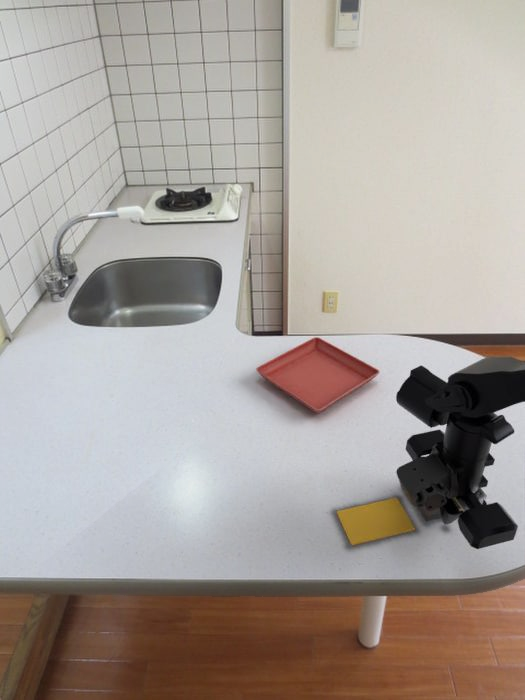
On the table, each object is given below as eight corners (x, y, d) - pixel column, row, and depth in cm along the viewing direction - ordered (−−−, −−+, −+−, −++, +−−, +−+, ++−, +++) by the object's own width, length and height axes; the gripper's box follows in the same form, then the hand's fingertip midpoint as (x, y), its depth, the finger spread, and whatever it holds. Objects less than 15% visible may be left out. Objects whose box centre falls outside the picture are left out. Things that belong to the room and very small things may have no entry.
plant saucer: (316, 347, 118) (316, 335, 116) (380, 383, 106) (381, 370, 104) (254, 381, 108) (254, 368, 106) (318, 425, 97) (318, 411, 95)
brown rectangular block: (455, 515, 79) (459, 500, 77) (425, 523, 78) (428, 507, 76) (432, 481, 85) (435, 466, 83) (403, 487, 84) (406, 472, 82)
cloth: (396, 498, 82) (397, 497, 82) (415, 530, 77) (415, 528, 77) (336, 512, 80) (336, 511, 80) (351, 545, 76) (351, 544, 75)
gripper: (378, 411, 74) (369, 486, 83) (448, 515, 59) (428, 594, 68) (449, 397, 76) (433, 472, 85) (534, 494, 61) (504, 573, 70)
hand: (446, 522), depth 77 cm, fingers closed
